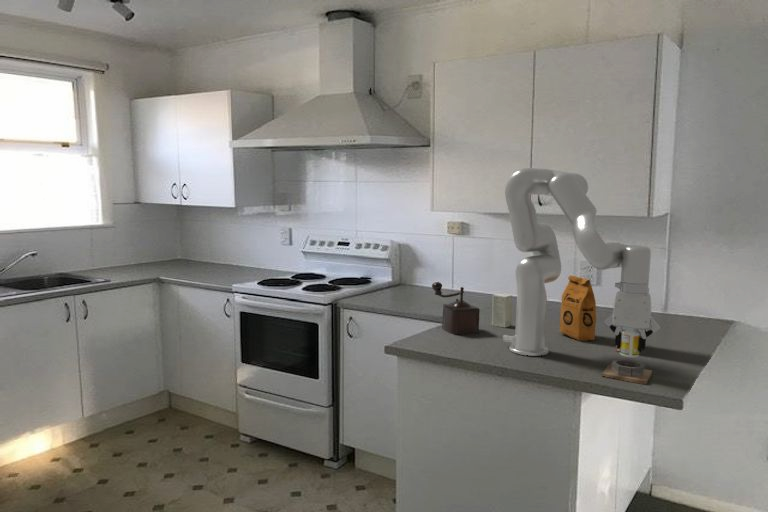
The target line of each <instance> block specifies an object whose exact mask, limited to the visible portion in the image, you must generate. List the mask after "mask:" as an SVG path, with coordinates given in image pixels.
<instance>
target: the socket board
mask: <svg viewBox="0 0 768 512" xmlns="http://www.w3.org/2000/svg"><path fill="white" fill-rule="evenodd" d="M652 373H653V370H651V369H646V368H645V364H644V363H642V362H640V361H637V360H631V359H625V358H622V359H621V358H620V359H613V360H612V361H611V363H609V364H608V365H607V367H605V369H604V370H603V372H602V373H601V377H602V376H607V377H611V378H615V379H614V380H617V379H619V380H618V381H623V380H624V382H628V381H629V383H635V384H641V385H645V386H646V385H647V384H648V382H649V380H650V378H651V376H652ZM611 378H610V379H611Z"/></svg>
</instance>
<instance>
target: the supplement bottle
mask: <svg viewBox="0 0 768 512" xmlns="http://www.w3.org/2000/svg"><path fill="white" fill-rule="evenodd" d="M624 328H625V329H623V330H622V331H621V341H620V352H619V355H620V356H622V357H625V358H631V359H632V358H639V356H640V352H639V341H640V338H641V333H640V331H638V329H633V328H626V327H624Z"/></svg>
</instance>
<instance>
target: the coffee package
mask: <svg viewBox="0 0 768 512" xmlns="http://www.w3.org/2000/svg"><path fill="white" fill-rule="evenodd" d="M567 279H568V283H567V285H566V287H565V289H564V291H563V293H562V295H561V305H560V319H559V320H560V322H559V333H560V334H563V335H566V336H568V337H569V338H571V339H575V340H577V341H579V342H581V341H583V342H586V341H589V342H590V341H595V338H596V337H595V336H596V335H595V334H596V325H597V324H596V323H597V311H596V310H597V307H596V306H597V305H596V298H595V293H594V289H593V286H592V283H591V280H590V279H587V278H583V277H579V276H575V275H569V276H568V278H567Z"/></svg>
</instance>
